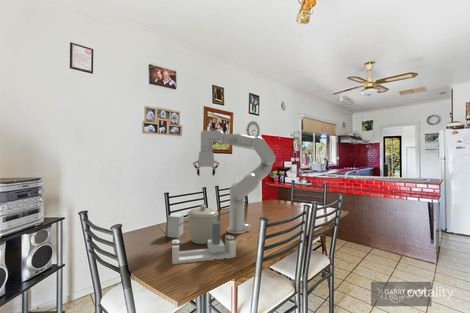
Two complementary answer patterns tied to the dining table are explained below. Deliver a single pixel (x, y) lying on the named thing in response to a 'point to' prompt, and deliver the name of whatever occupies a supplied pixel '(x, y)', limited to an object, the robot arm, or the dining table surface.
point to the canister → (201, 224)
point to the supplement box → (175, 225)
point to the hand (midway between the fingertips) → (206, 175)
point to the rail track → (204, 256)
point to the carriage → (216, 239)
